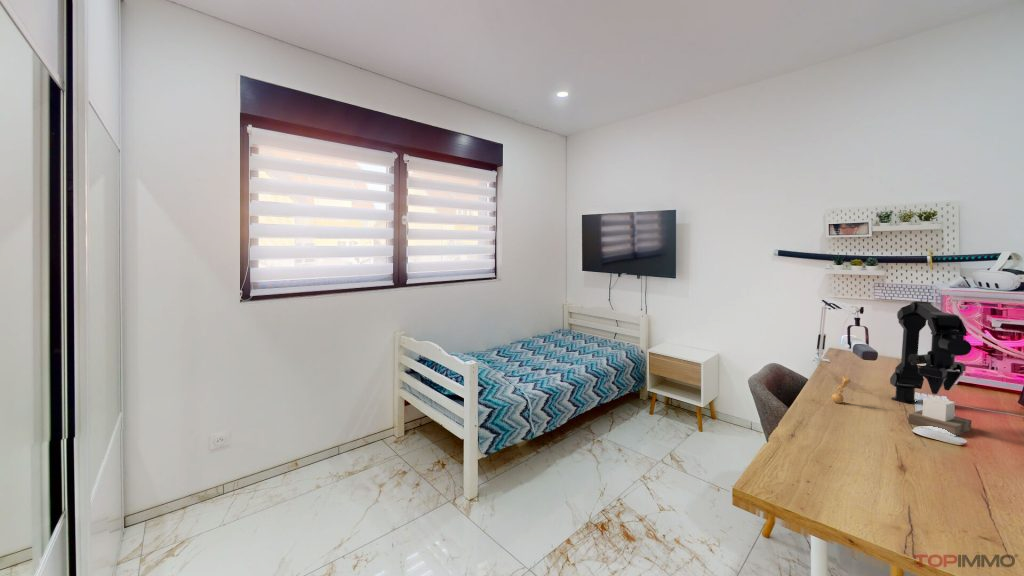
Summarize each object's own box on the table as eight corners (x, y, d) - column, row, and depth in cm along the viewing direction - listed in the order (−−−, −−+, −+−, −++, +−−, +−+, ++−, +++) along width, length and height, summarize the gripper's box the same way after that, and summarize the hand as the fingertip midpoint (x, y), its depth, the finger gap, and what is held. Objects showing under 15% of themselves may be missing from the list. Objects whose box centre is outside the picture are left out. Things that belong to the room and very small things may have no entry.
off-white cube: (931, 412, 145) (932, 396, 145) (954, 418, 139) (955, 402, 139) (922, 415, 143) (923, 399, 142) (945, 421, 137) (946, 404, 137)
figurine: (835, 399, 170) (836, 372, 169) (853, 403, 164) (854, 375, 164) (827, 403, 165) (828, 375, 164) (845, 407, 160) (846, 379, 159)
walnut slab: (924, 418, 149) (925, 408, 149) (970, 431, 138) (971, 420, 138) (908, 424, 144) (908, 414, 144) (954, 438, 133) (955, 426, 133)
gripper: (925, 342, 150) (923, 382, 151) (899, 347, 143) (897, 389, 144) (967, 348, 140) (965, 390, 141) (942, 354, 133) (940, 398, 134)
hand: (940, 392), depth 140 cm, fingers open, 9 cm apart
